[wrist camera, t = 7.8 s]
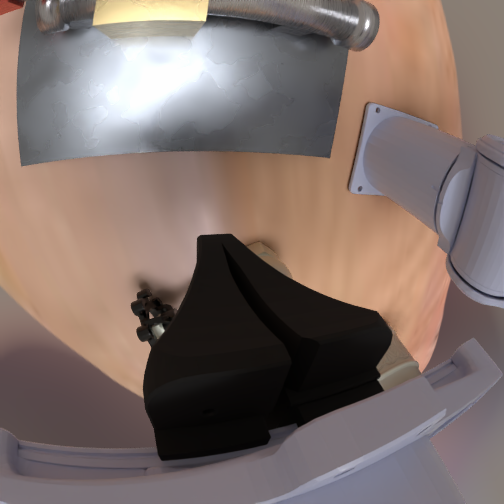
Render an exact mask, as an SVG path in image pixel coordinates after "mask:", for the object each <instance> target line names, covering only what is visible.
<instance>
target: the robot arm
mask: <svg viewBox="0 0 504 504" xmlns="http://www.w3.org/2000/svg"><path fill="white" fill-rule="evenodd" d="M376 108H377V112H376ZM359 186H360V188H359V189H358V187H359ZM349 191H350V192H351V193H353V194H367V195H382V196H387V197H388V198H390V199H391V200H392V201H394V202H395V203H397V204H398V205H400V206H401V207H402V208H404V209H405V210H406V211H408V212H409V213H411V214H412V215H413V216H415V217H416V218H417V219H419V220H420V221H421V222H422V223H424V224H425V225H426V226H428V227H429V228H430V229H432V230H433V231H434V232H435V233H437V234H438V235H439V240H438V244H437V245H438V246H439V247H440V248H441V249H442V250H443V251H444V252H446V253H447V257H446V269H447V271H448V274H449V275H450V277H451V279H452V280H453V282H454V283H455V284H456V286H457V287H458V288H459V289H460V290H461V291H462V292H463V293H464V294H465V295H467V296H468V297H469V298H471V299H473V300H474V301H476V302H479V303H481V304H485V305H491V306H497V307H501V308H504V138H502V137H498V136H495V135H490V134H487V135H485V136H483V137H482V138H478V139H477V143H476V146H475V145H473V144H471V143H469V142H466V141H464V140H462V139H460V138H457V137H455V136H453V135H450V134H448V133H445V132H443V131H440V130H438V126H437V125H435V124H433V123H430V122H428V121H425V120H422V119H420V118H417V117H414V116H412V115H409V114H406V113H403V112H400V111H397V110H394V109H391V108H388V107H385V106H382V105H378V104H375V103H368V104H367V106H366V111H365V116H364V121H363V126H362V131H361V136H360V140H359V145H358V150H357V154H356V158H355V163H354V167H353V171H352V175H351V180H350V184H349ZM392 337H393V334H392V330H391V329H390V327H389V326H388V325H387V324H386V322H385V321H384V320H383V318H382V317H381V316H380V315H379V313H378V312H377V311H374V310H370V309H366V308H362V307H358V306H354V305H351V304H348V303H345V302H342V301H339V300H336V299H333V298H331V297H328V296H326V295H323V294H321V293H319V292H316V291H314V290H312V289H310V288H308V287H306V286H304V285H302V284H300V283H298V282H296V281H294V280H293V279H291V278H289V277H287V276H286V275H284V274H283V273H281V272H279V271H278V270H276V269H275V268H274V267H272V266H271V265H269V264H268V263H266V262H265V261H264V260H262V259H261V258H260V257H259V256H257V255H256V254H255V253H254V252H252V251H251V250H250V249H249V248H247V247H246V246H245V245H244V244H243V243H242V242H240V241H239V240H238V239H237V238H236V237H234V236H233V235H232V234H214V235H200V236H199V237H198V238H197V263H196V267H195V270H194V274H193V277H192V280H191V283H190V286H189V288H188V291H187V293H186V295H185V297H184V299H183V301H182V303H181V305H180V307H179V309H178V311H177V313H176V314H175V316H174V317H173V319H172V321H171V322H170V324H169V325H168V327H167V328H166V330H165V331H164V332H163V334H162V335H161V336H160V337H159V339H158V340H157V341H156V342H155V344H154V345H153V346H152V348H151V351H150V354H149V358H148V361H147V365H146V369H145V374H144V381H143V394H144V403H145V410H146V412H147V414H148V417H149V418H150V421H151V423H152V426H153V428H154V433H155V439H156V446H157V447H154V448H129V449H105V448H81V447H67V446H57V445H48V444H41V443H34V442H28V441H22V440H17V438H16V437H15V436H14V435H13V434H11V433H10V432H9V431H7V430H5V429H3V428H1V427H0V504H467V503H466V502H465V500H464V498H463V496H462V494H461V493H460V491H459V489H458V487H457V485H456V484H455V482H454V480H453V478H452V476H451V475H450V473H449V471H448V469H447V468H446V466H445V464H444V462H443V461H442V459H441V458H440V456H439V454H438V452H437V451H436V449H435V447H434V446H433V444H432V442H431V441H430V438H432V437H433V436H434V435H436V434H437V433H439V432H440V431H441V430H443V429H444V428H445V427H446V426H448V425H449V424H450V423H452V422H453V421H454V420H455V419H457V418H458V417H459V416H461V415H462V414H463V413H464V412H466V411H467V410H468V409H469V408H470V407H471V406H473V405H474V404H475V403H476V402H477V401H478V400H479V399H480V398H481V397H482V396H483V395H484V394H485V393H486V392H487V391H488V390H489V389H490V388H491V387H492V386H493V385H494V384H495V383H496V382H497V381H498V380H499V379H500V378H501V377H502V375H503V374H502V372H501V371H500V370H499V368H498V367H497V366H496V364H495V363H494V362H493V360H492V359H491V358H490V357H489V355H488V354H487V353H486V352H485V350H484V349H483V348H482V347H481V346H480V345H479V343H478V342H477V341H476V340H475V338H472V339H470V340H469V341H467V342H465V343H463V344H462V345H461V346H460V347H459V348H458V349H457V350H456V351H455V352H454V353H453V355H452V356H451V358H450V359H449V360H447V361H445V362H443V363H441V364H440V365H438V366H436V367H434V368H432V369H430V370H429V371H427V372H425V373H423V374H421V375H419V376H417V377H415V378H412V379H410V380H407V381H405V382H403V383H401V384H399V385H397V386H395V387H392V388H390V389H388V390H386V391H384V389H383V388H382V386H381V384H380V383H379V381H378V380H377V379H379V378H380V377H381V375H380V372H379V371H378V369H377V368H376V367H377V365H378V364H379V362H380V361H381V359H382V358H383V356H384V355H385V353H386V352H387V350H388V348H389V346H390V345H391V341H392Z"/></svg>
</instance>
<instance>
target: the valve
mask: <svg viewBox="0 0 504 504" xmlns="http://www.w3.org/2000/svg"><path fill="white" fill-rule="evenodd" d="M246 247H247V248H249V249H250V250H251V251H252V252H254V253H255V254H256V255H257V256H259V257H260V258H261V259H262V260H264V261H265V262H266V263H268V264H269V265H271V266H272V267H274V268H275V269H276V270H278V271H279V272H281V273H283V274H284V275H286V276H287V277H289V278H291V279H292V275H291V273H290V271H289V269H288V268H287V266H286V265H285V264H284V263H283V262H281V261H280V260H279V258H278V257H277V255H276V253H275V252H274V251H273V250H271V249H270V248H268V247H267V246H266V245H264V244H263V243H261V242H256V243H253V244H251V245H248V246H246ZM149 296H152V294H151V292H150V290H149V289H144V290H142V291H140V292H138V293H137V299H138V300H136V301H134V302H132V303H131V309H132V311H133V313H134V314H135V315H136V316H138V317H139V319H140V322H141V326H140V327H138V328H137V330H136V332H137V336H138V338H139V339H140V340H141V341H142V342H145V341H148V342H149V344H150V346H151V348H152V346H153V345H154V344H155V342H156V341H157V340H158V339H159V337H160V336H161V335H162V334H163V332H164V331H165V330H166V328H167V327H168V325H169V324H170V322H171V321H172V319H173V317H174V316H175V314H176V313H177V311H178V310H177V309H175V308H174V309H173V308H172V306H171V305H168V304H162V301H161V300H160V299H159V298H155V299H153V300H150V301H149V300H148V297H149ZM149 312H150V313H151V314H152V315H153V316H154V318H152V319H150V318H149ZM157 338H158V339H157Z"/></svg>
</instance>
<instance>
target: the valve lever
mask: <svg viewBox="0 0 504 504" xmlns="http://www.w3.org/2000/svg"><path fill="white" fill-rule="evenodd" d="M25 1H28V0H0V15H2V14H5V13H8V12H11V11H14V10H17V9H20V8H23V5H24V2H25Z"/></svg>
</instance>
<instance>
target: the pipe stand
mask: <svg viewBox="0 0 504 504" xmlns="http://www.w3.org/2000/svg"><path fill="white" fill-rule="evenodd" d="M378 29H379V14H378V11H377V9H376V7H375V6H374V5H372V4H371V3H369V2H366V1H364V0H28V1H26V6H25V11H24V16H23V22H22V29H21V36H20V45H19V55H18V69H17V125H18V140H19V150H20V159H21V166H26V165H32V164H38V163H44V162H51V161H58V160H66V159H74V158H82V157H92V156H102V155H113V154H127V153H144V152H168V151H236V152H261V153H279V154H293V155H305V156H316V157H326V158H330V154H331V149H332V144H333V139H334V134H335V128H336V123H337V118H338V112H339V107H340V101H341V95H342V89H343V83H344V77H345V70H346V64H347V57H348V50H352V51H362V50H364V49H366V48H367V47H368V46H369V45H370V44H371V43H372V42H373V40H374V39H375V37H376V35H377V32H378Z"/></svg>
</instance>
